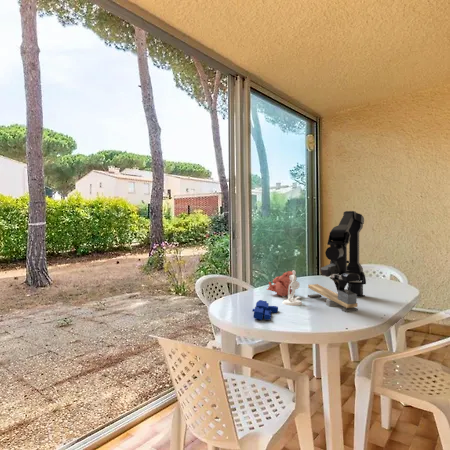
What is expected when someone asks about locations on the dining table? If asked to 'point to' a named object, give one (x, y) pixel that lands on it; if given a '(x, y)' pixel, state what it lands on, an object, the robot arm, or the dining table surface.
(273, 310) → the toy gun
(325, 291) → the beam
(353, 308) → the stand
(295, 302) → the figurine
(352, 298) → the block
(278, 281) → the anatomical model
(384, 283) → the dining table surface
